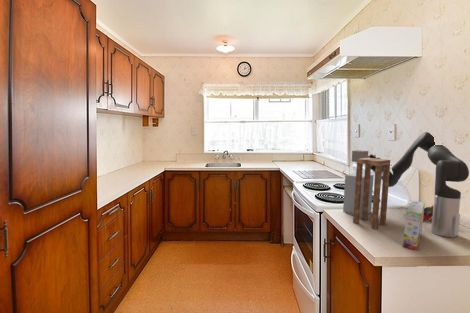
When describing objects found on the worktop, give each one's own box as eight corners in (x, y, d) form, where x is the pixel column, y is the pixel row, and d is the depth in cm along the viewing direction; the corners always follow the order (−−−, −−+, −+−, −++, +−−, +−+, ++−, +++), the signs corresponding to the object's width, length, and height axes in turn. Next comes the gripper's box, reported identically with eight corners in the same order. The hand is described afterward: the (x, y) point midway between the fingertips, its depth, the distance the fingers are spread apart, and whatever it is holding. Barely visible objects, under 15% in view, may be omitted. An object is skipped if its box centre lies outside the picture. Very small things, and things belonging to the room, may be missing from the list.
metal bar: (378, 160, 158) (378, 149, 157) (362, 162, 147) (362, 151, 146) (367, 159, 163) (368, 149, 162) (351, 161, 152) (352, 150, 151)
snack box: (418, 251, 106) (422, 213, 104) (402, 247, 109) (405, 210, 108) (422, 234, 123) (425, 201, 121) (407, 231, 126) (410, 199, 125)
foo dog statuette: (430, 230, 141) (443, 217, 132) (410, 218, 146) (421, 206, 137) (435, 219, 145) (447, 207, 136) (415, 208, 150) (426, 196, 141)
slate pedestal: (371, 212, 155) (373, 175, 152) (360, 216, 147) (362, 177, 145) (354, 207, 162) (356, 172, 160) (343, 211, 155) (345, 174, 153)
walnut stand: (385, 224, 135) (390, 159, 131) (375, 229, 128) (380, 161, 125) (363, 218, 143) (367, 157, 140) (353, 222, 137) (357, 158, 133)
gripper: (369, 161, 172) (357, 148, 162) (393, 163, 161) (382, 150, 151) (365, 171, 171) (353, 159, 161) (389, 175, 160) (378, 162, 150)
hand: (367, 155), depth 156 cm, fingers closed on metal bar, 3 cm apart
